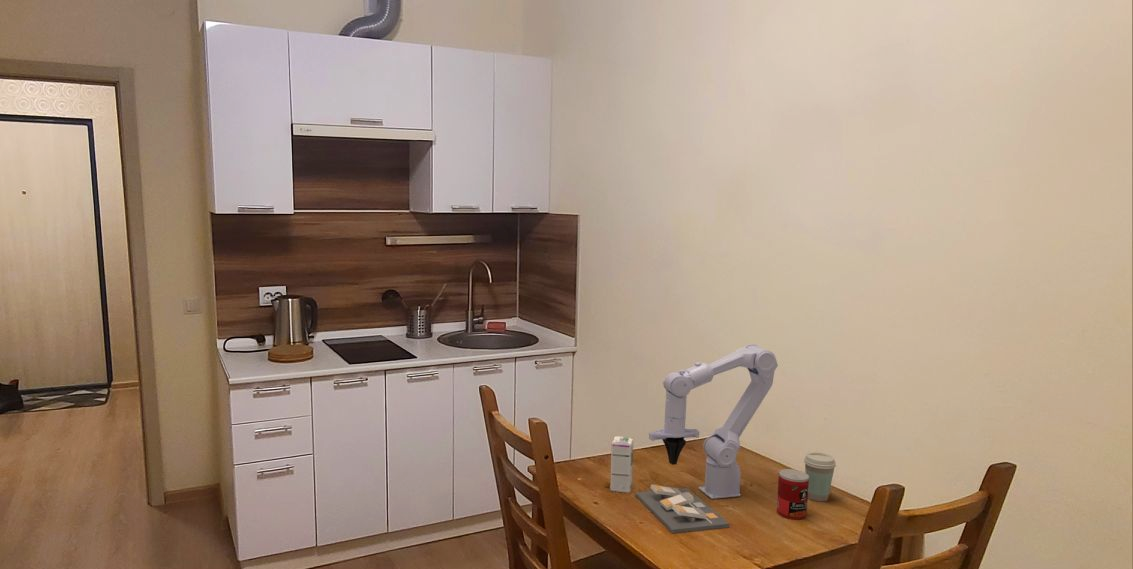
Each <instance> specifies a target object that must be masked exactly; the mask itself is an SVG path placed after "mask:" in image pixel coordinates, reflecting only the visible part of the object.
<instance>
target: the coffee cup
mask: <svg viewBox="0 0 1133 569" xmlns="http://www.w3.org/2000/svg"><path fill="white" fill-rule="evenodd" d="M803 462H804V466H805V467H804V468H805V470H804V471H805V472H804V473H806V474H807V475H808V476H809V487H808V499H809V500H812V501H815V502H826V501H828V500H829V496H830V492H831V486H832V482H833V477H834V473H835V472H834V471H835V468H836V466H837V465H836V461H835V458H834V457H833V456H832V455H830V454H827V453H822V452H808V453H807V454H806V455H805V457H804V460H803Z"/></svg>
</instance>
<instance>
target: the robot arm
mask: <svg viewBox="0 0 1133 569" xmlns="http://www.w3.org/2000/svg"><path fill="white" fill-rule="evenodd" d="M778 364H779V363H778V361H777V357H776V355H775V353H774V352H773V351H771V350H769V349H764V348H762V347H760V346H758V345H756V344H748V345H746V346H742V347H739V348H738V349H737V350H736V351H734V352H732V353H729V354H727V355H725V356H723V357H721V358H719V359H717V360H715V361H713V362H711V363H709V364H708V363H706V362H704V361H703V362H699V361H697V362H694V365H693V366H691V367H688V368H686V369H684V368H682V369H680V370H679V372H676V371H674V372H670V373H669V374H667V376H665V378H664V381H663V382H662V385H663V388H664V389H665V391H666V392H665V394H666V395H665V406H664V407H665V408H664V409H665V410H664V423H663V424H664V426H663V427H664V428H663V429H659V430H655V431H649V432H648V440H650V441H652V442H653V441H656V440H657V441H658V440H662V442H663V444H664V446H665V449H666V453H667V456H668V457H667V458H668V463H669V464H670V465H672V466H673V465H674V466H676V465H677V463H678V459H679V457H680V454H681V452H682V450H683V449H684V447H685V445H686V443H687V441H686V440H685V439H687V438H688V439H689V438H695V439H696V438H697V439H699V438H700V431H699V430H698V429H697V428H695V429H694V428H693V429H692V428H686V419H687V418H686V416H687V396H689V394H690V392H691V391H692V390H693V389H696V388H699V387H701V386H703V385H705V384H708V383H711V382H712V381H713V379H714V377H715V376H716V375H719V374H722V373H725V372H728V371H731V370H733V369H736V368H738V367H739V368H740V367H741V368H746V369H747V371H748V373H749V376H750V377H749V378H750V382H749V384H748V386H747V387H746V389H745V390H744V392H743V393H742V395H741V397H740V398H739V400H738V402H737V403H736V404H735V407H734V408H733V410H731V413H730V414H729V415H728V417H727V419H726V420H725V422H724V424H723V425H722V426H721V427H719V428H717V429H715V430H714V431H713V433H712V434H711V435H709V436H707V437H706V439H705V440H704V441H703V446H702V447H703V452H704V453H705V454H706V460H705V476H704V485H703V486H698V489H699V490H700V491H701V492H702V493H704V494H705V495H706V496H707V497H708V498H710V499H711V500H714V499H715V500H717V499H724V498H725V499H726V498H737V497H741V496H742V494H741V493H740V489H741V479H742V478H741V475H742V473H741V468H740V465H739V464H738V463H737V461H736V460H737V456H738V452H739V450H740V448H741V443H740V442H741V441H740V437H741V436H742V434H743V432H744V430H745V429H746V427H747V426H748V424H749V423H750V421H751V420H752V418H753V417H754V415H755V413H756V412H757V410H758V409H759V407H760V406H761V404H762V402H763V400H764V399H765V397H766V396H767V395H768V393H769V391H770V390H771V388H772V386H773V383H774V379H775V378H774V377H775V370H776V369H777V368H778Z"/></svg>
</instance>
